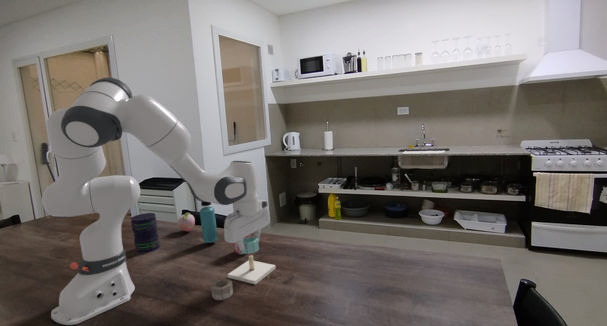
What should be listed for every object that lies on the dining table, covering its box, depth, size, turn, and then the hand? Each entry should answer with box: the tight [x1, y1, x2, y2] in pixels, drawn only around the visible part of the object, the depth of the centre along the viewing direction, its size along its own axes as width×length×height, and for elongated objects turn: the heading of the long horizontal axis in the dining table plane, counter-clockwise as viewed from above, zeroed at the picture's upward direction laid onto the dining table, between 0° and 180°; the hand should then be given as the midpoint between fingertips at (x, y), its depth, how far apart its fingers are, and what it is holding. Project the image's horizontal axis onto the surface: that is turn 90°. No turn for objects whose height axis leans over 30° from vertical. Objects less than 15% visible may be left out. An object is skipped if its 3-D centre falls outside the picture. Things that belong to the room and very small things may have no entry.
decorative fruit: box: [176, 212, 196, 233], centre depth 160 cm, size 9×8×10 cm
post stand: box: [227, 254, 277, 285], centre depth 113 cm, size 12×12×6 cm
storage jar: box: [130, 212, 161, 255], centre depth 141 cm, size 10×10×15 cm
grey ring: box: [210, 278, 234, 301], centre depth 101 cm, size 6×6×4 cm
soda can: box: [232, 234, 251, 256], centre depth 131 cm, size 7×7×12 cm
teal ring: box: [241, 236, 260, 255], centre depth 112 cm, size 6×6×4 cm
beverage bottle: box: [199, 201, 219, 244], centre depth 142 cm, size 6×7×20 cm
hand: (249, 245), depth 112 cm, fingers closed on teal ring, 6 cm apart
